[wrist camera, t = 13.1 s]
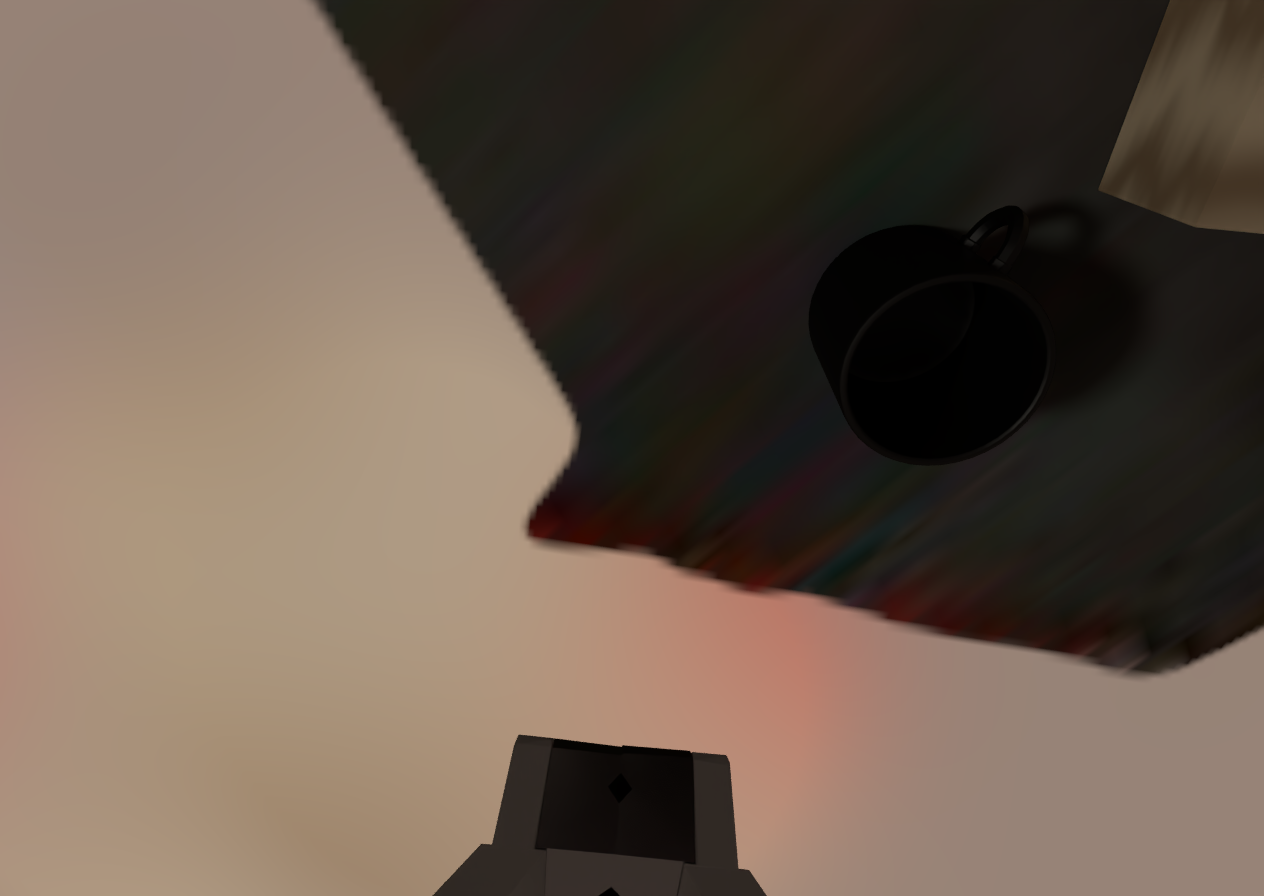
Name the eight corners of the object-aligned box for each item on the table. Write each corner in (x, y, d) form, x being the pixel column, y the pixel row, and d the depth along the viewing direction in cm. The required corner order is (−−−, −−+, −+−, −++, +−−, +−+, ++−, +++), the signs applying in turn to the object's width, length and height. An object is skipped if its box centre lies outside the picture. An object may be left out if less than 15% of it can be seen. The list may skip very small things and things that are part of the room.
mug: (1054, 232, 39) (1152, 285, 31) (909, 413, 44) (961, 497, 36) (906, 142, 37) (970, 173, 29) (774, 342, 42) (798, 414, 34)
